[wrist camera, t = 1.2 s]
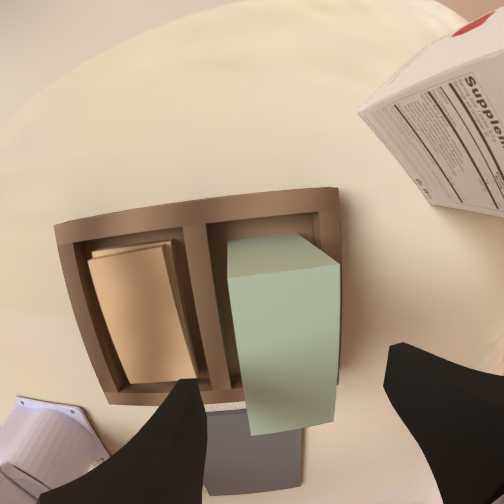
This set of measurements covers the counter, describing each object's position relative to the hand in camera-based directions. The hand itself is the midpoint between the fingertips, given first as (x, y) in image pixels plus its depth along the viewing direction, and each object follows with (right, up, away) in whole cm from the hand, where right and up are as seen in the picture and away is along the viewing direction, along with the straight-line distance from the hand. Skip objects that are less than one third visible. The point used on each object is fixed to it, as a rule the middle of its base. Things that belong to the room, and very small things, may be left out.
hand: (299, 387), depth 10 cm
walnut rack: (-5, +2, +9) cm, 10 cm away
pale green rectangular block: (-1, +2, +8) cm, 8 cm away
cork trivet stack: (-8, +1, +8) cm, 11 cm away
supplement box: (+11, +14, +7) cm, 19 cm away
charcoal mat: (-2, -14, +13) cm, 19 cm away
